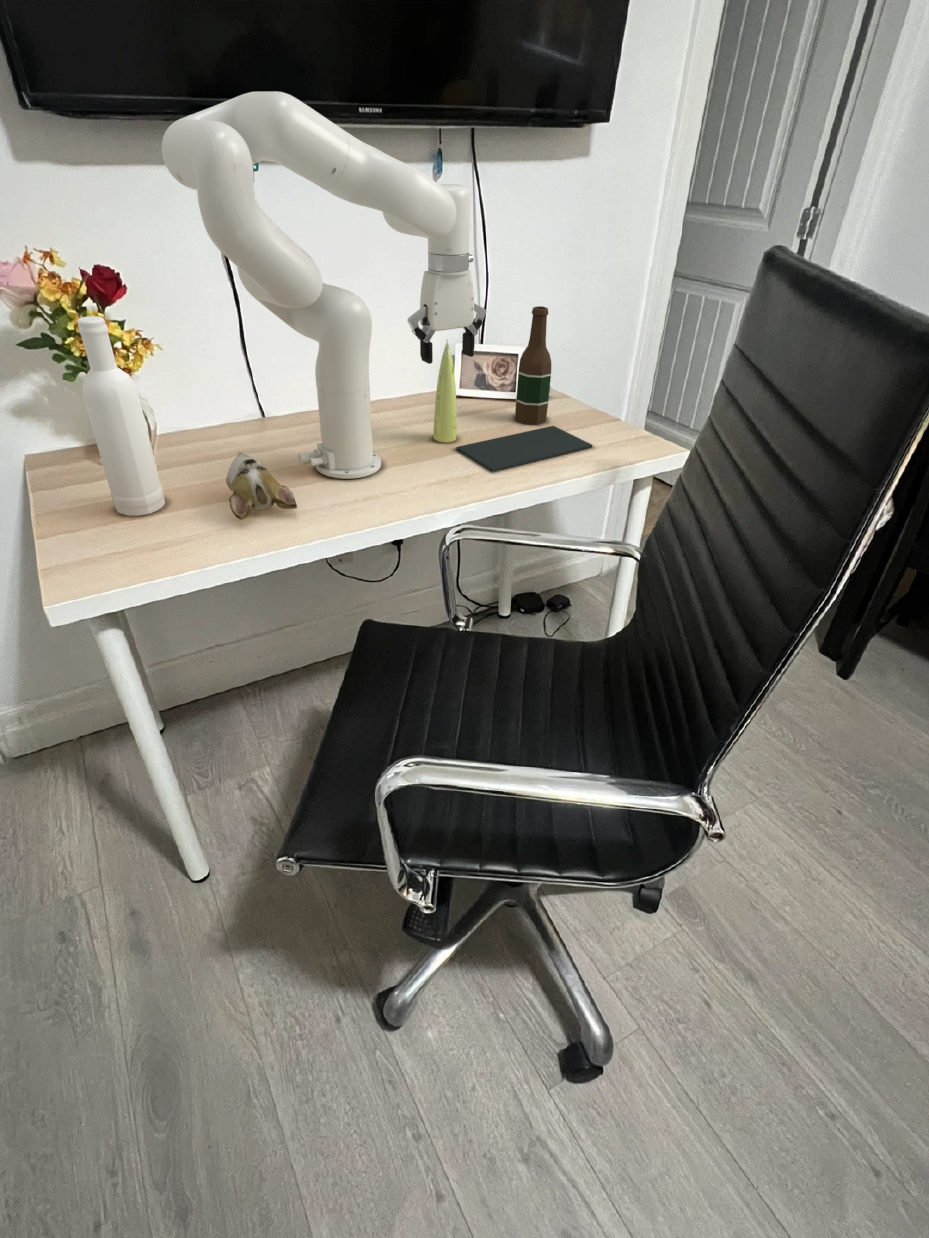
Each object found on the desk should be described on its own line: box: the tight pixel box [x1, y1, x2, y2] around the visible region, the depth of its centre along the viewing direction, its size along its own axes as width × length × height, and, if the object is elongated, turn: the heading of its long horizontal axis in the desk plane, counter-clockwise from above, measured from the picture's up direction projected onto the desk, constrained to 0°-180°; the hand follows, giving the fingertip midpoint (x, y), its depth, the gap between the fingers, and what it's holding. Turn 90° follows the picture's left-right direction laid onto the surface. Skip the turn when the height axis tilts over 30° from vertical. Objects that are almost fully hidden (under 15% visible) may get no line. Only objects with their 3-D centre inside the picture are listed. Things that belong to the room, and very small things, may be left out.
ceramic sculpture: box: [225, 451, 298, 521], centre depth 116 cm, size 11×9×15 cm
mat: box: [455, 425, 593, 473], centre depth 144 cm, size 26×13×1 cm, turn 124°
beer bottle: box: [514, 305, 552, 426], centre depth 151 cm, size 8×8×24 cm
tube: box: [433, 339, 458, 444], centre depth 141 cm, size 6×5×20 cm
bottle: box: [76, 315, 166, 517], centre depth 108 cm, size 8×8×30 cm
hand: (447, 358), depth 137 cm, fingers open, 9 cm apart
